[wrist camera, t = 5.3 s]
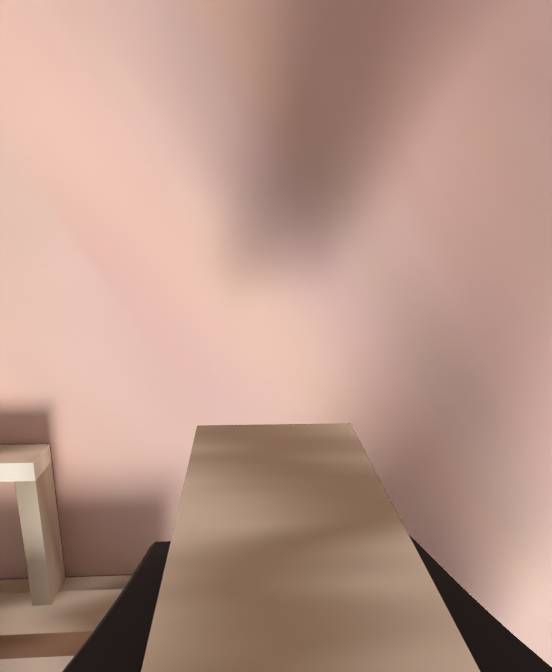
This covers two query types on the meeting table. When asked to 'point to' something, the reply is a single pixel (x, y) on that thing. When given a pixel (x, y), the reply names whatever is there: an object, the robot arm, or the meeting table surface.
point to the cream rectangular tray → (46, 557)
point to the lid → (40, 651)
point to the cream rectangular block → (294, 563)
